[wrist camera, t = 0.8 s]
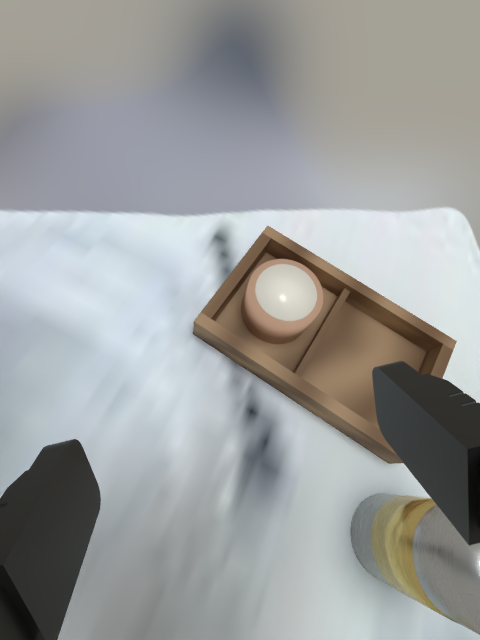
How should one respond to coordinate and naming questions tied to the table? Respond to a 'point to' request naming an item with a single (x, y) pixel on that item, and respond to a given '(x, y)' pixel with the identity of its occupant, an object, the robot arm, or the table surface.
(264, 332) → the ramekin
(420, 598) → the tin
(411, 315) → the tray
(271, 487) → the table surface
